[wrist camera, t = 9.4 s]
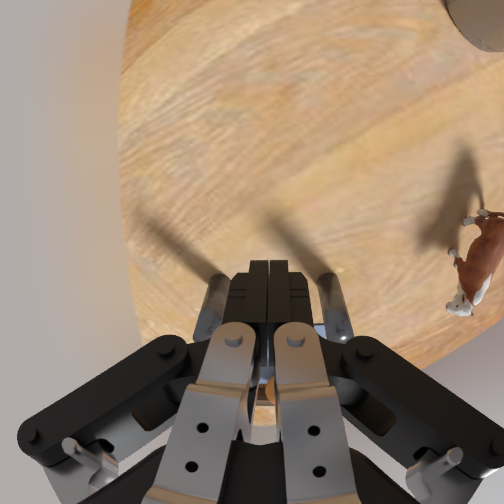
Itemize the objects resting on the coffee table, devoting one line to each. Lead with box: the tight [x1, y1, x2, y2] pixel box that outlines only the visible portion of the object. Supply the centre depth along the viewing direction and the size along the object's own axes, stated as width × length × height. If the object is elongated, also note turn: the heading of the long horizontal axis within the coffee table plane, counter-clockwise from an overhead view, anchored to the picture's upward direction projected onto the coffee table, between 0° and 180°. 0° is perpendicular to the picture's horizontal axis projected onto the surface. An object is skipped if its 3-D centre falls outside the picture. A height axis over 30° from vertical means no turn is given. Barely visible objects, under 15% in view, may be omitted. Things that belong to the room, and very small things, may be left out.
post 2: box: [317, 273, 354, 344], centre depth 29 cm, size 3×3×9 cm
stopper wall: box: [256, 388, 275, 406], centre depth 44 cm, size 2×16×2 cm, turn 93°
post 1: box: [193, 274, 231, 343], centre depth 30 cm, size 3×3×9 cm
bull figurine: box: [446, 209, 504, 316], centre depth 25 cm, size 4×13×8 cm, turn 163°
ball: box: [265, 376, 275, 405], centre depth 40 cm, size 6×6×6 cm
